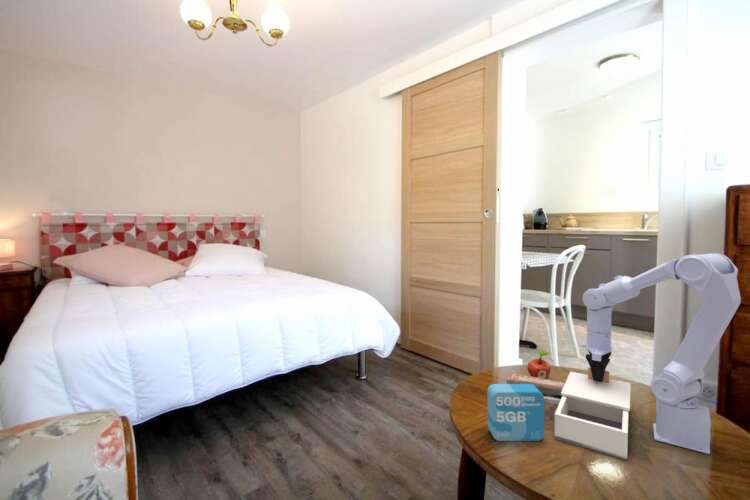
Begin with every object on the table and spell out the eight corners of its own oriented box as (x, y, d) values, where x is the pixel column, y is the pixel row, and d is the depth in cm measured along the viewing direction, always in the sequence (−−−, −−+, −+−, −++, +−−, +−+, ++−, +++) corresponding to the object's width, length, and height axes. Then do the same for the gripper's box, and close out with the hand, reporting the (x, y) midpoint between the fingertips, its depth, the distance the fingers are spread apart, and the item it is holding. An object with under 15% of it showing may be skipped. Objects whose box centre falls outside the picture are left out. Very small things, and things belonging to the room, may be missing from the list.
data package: (492, 441, 83) (492, 392, 82) (487, 430, 87) (487, 383, 86) (544, 441, 82) (544, 391, 81) (536, 430, 87) (536, 383, 86)
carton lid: (630, 385, 96) (630, 373, 96) (629, 411, 83) (630, 397, 82) (570, 373, 105) (570, 362, 104) (560, 395, 91) (560, 382, 91)
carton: (628, 426, 87) (628, 402, 87) (627, 460, 75) (627, 433, 74) (565, 410, 96) (565, 388, 95) (554, 438, 83) (554, 414, 83)
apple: (549, 387, 109) (549, 356, 109) (525, 383, 113) (525, 353, 112) (551, 378, 116) (551, 349, 115) (529, 374, 120) (529, 346, 119)
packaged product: (504, 380, 105) (508, 368, 114) (504, 396, 106) (509, 383, 114) (572, 392, 97) (572, 378, 106) (572, 409, 97) (572, 394, 106)
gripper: (585, 323, 106) (585, 366, 107) (579, 335, 94) (578, 384, 95) (613, 326, 102) (612, 371, 102) (610, 339, 90) (610, 390, 91)
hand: (598, 378), depth 98 cm, fingers open, 4 cm apart
